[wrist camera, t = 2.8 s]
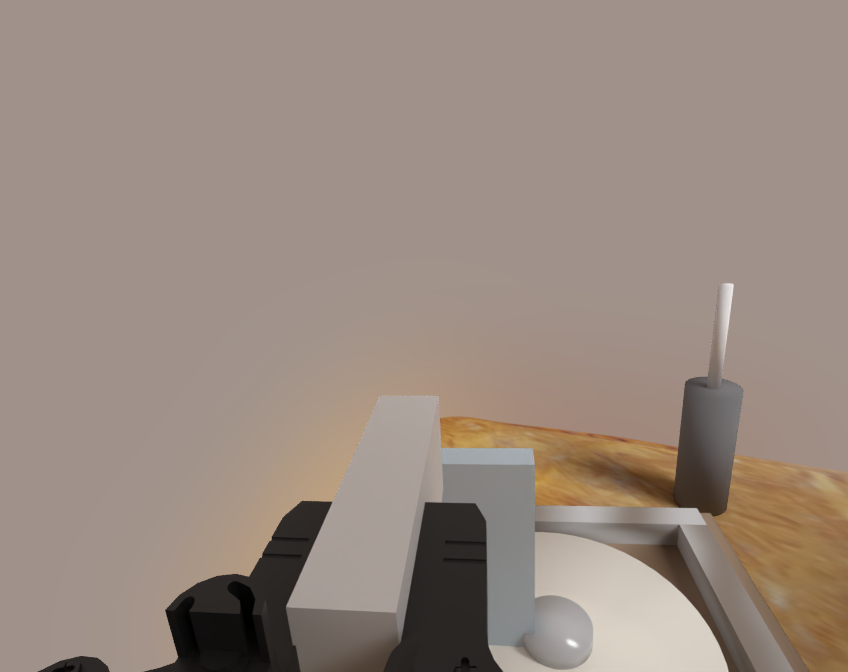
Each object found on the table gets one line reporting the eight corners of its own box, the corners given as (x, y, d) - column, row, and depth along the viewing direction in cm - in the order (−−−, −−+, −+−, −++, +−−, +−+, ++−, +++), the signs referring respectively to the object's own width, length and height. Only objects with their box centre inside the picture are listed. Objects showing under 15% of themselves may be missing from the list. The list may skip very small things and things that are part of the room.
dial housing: (707, 538, 33) (713, 489, 32) (1060, 1154, 13) (1115, 1081, 12) (377, 530, 36) (371, 484, 35) (231, 1020, 16) (205, 951, 14)
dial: (664, 556, 30) (682, 381, 26) (806, 875, 16) (881, 610, 13) (424, 549, 31) (410, 385, 28) (378, 830, 18) (341, 588, 15)
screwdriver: (714, 486, 38) (742, 277, 33) (735, 516, 35) (769, 290, 30) (667, 486, 39) (687, 279, 34) (683, 515, 36) (708, 292, 31)
